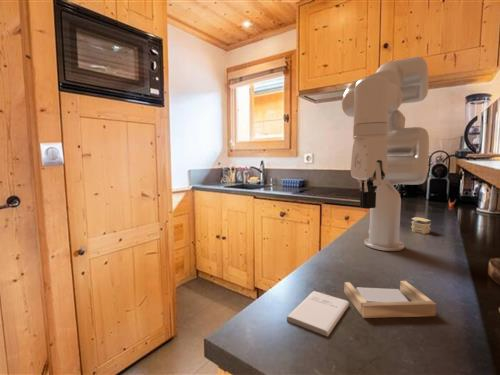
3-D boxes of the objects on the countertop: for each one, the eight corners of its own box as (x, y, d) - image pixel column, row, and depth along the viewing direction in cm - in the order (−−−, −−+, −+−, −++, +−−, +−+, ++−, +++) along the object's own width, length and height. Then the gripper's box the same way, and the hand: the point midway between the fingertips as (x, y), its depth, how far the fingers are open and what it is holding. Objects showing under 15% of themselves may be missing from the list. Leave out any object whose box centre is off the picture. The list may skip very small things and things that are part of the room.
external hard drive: (286, 323, 53) (312, 296, 63) (327, 339, 48) (349, 307, 58) (286, 315, 53) (312, 289, 63) (327, 331, 48) (349, 300, 58)
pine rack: (344, 292, 63) (344, 282, 63) (404, 290, 64) (405, 280, 63) (363, 317, 53) (363, 305, 53) (435, 316, 54) (436, 304, 53)
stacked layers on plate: (438, 233, 111) (439, 220, 111) (425, 236, 108) (425, 222, 107) (415, 228, 120) (415, 215, 120) (401, 230, 117) (402, 218, 116)
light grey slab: (356, 297, 62) (356, 287, 62) (397, 299, 61) (398, 289, 60) (363, 312, 56) (363, 301, 56) (409, 315, 55) (410, 303, 55)
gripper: (343, 135, 73) (341, 202, 75) (368, 129, 58) (366, 214, 60) (371, 134, 73) (368, 202, 75) (403, 129, 58) (399, 213, 60)
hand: (367, 207), depth 67 cm, fingers closed
